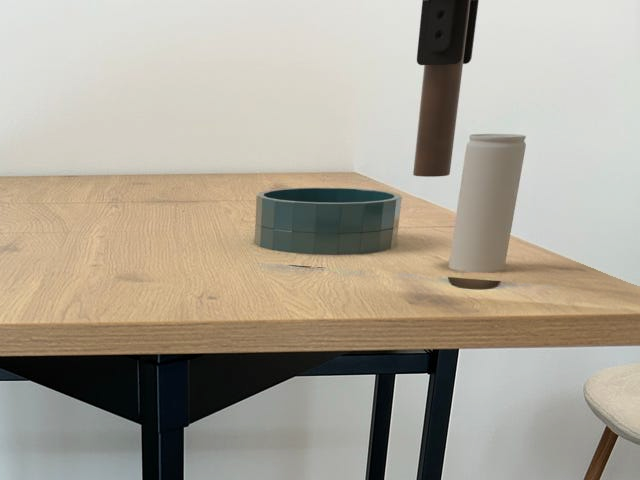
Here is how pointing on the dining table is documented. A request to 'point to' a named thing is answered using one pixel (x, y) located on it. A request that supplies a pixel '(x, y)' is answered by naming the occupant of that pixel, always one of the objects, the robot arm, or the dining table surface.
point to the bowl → (327, 220)
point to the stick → (438, 118)
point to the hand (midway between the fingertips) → (444, 61)
